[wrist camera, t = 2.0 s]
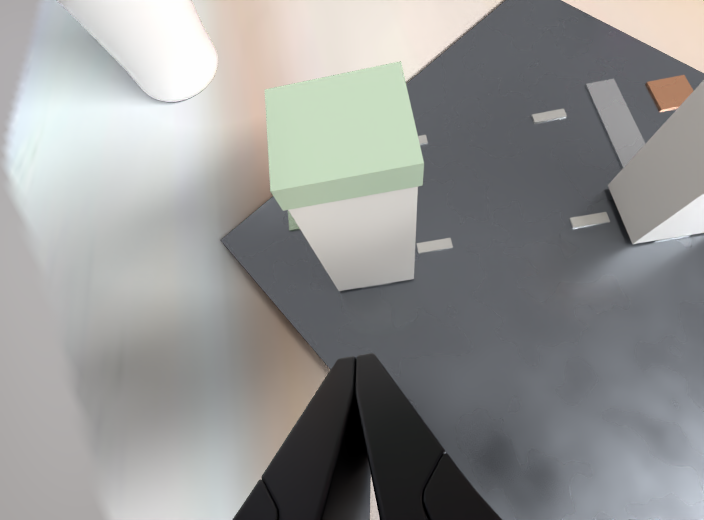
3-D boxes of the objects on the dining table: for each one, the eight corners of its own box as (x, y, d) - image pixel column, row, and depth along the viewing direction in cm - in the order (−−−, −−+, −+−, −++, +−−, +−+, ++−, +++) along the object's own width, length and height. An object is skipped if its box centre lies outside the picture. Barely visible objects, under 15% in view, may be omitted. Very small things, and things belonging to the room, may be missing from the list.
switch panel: (1014, 246, 16) (1036, 240, 15) (644, 736, 12) (656, 752, 12) (519, -12, 24) (522, -22, 23) (221, 239, 21) (216, 235, 20)
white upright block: (416, 280, 18) (424, 163, 9) (336, 293, 18) (270, 191, 9) (404, 218, 19) (400, 61, 10) (329, 231, 19) (265, 89, 10)
